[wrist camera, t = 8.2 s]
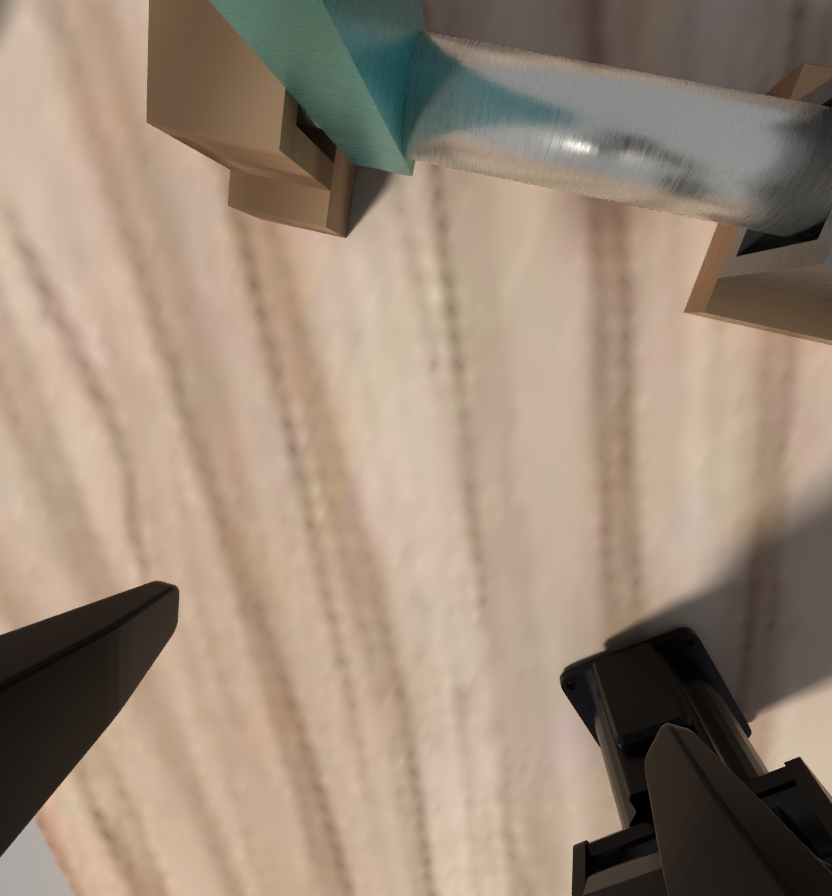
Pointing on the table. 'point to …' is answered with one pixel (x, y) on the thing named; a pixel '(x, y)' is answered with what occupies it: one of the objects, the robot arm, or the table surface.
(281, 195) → the socket
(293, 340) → the table surface
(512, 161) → the teal block on rod
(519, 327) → the table surface
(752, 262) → the sleeve
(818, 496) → the table surface
